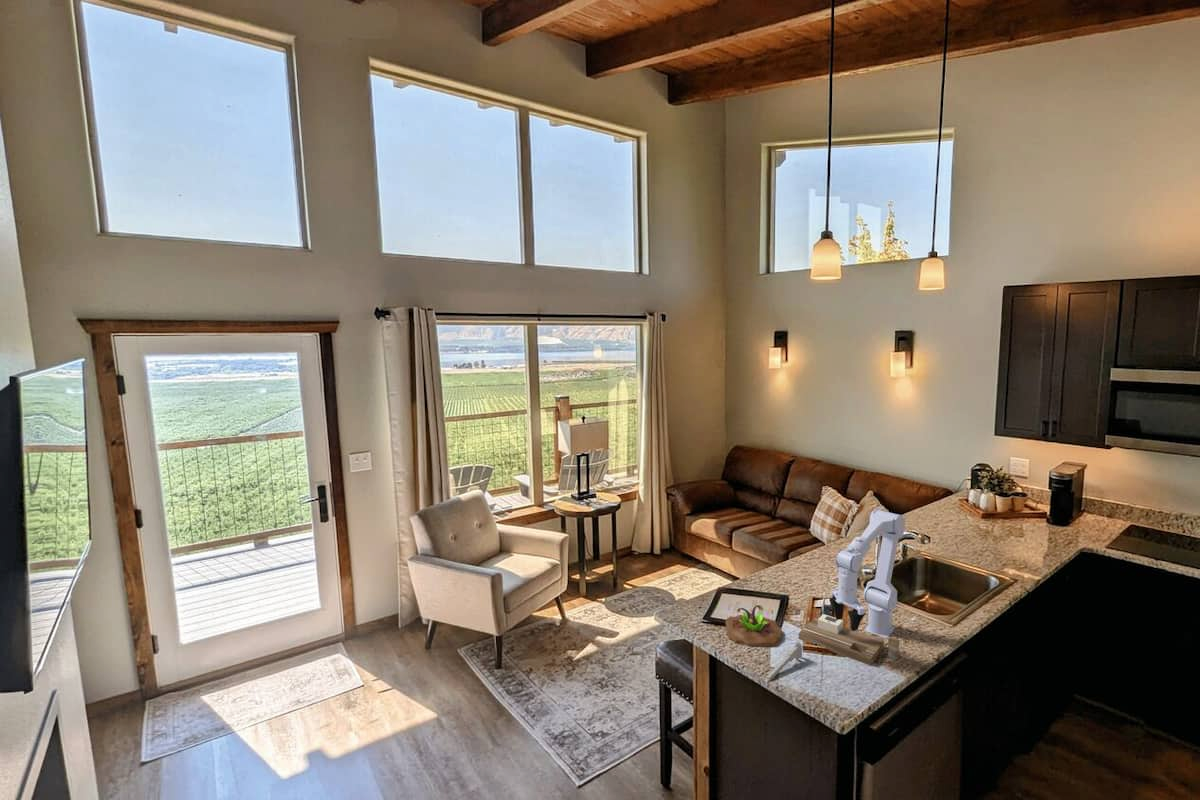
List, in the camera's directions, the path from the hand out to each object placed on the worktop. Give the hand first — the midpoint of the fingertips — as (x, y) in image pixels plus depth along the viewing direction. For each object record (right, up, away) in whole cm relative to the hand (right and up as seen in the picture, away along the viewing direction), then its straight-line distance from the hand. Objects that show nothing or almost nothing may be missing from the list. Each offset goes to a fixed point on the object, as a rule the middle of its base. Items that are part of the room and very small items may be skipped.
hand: (846, 624), depth 192 cm
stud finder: (-1, -5, +10) cm, 12 cm away
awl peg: (+14, -9, -4) cm, 17 cm away
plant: (-28, -9, +12) cm, 32 cm away
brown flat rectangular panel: (0, -8, +5) cm, 10 cm away
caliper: (-25, -12, -11) cm, 30 cm away
